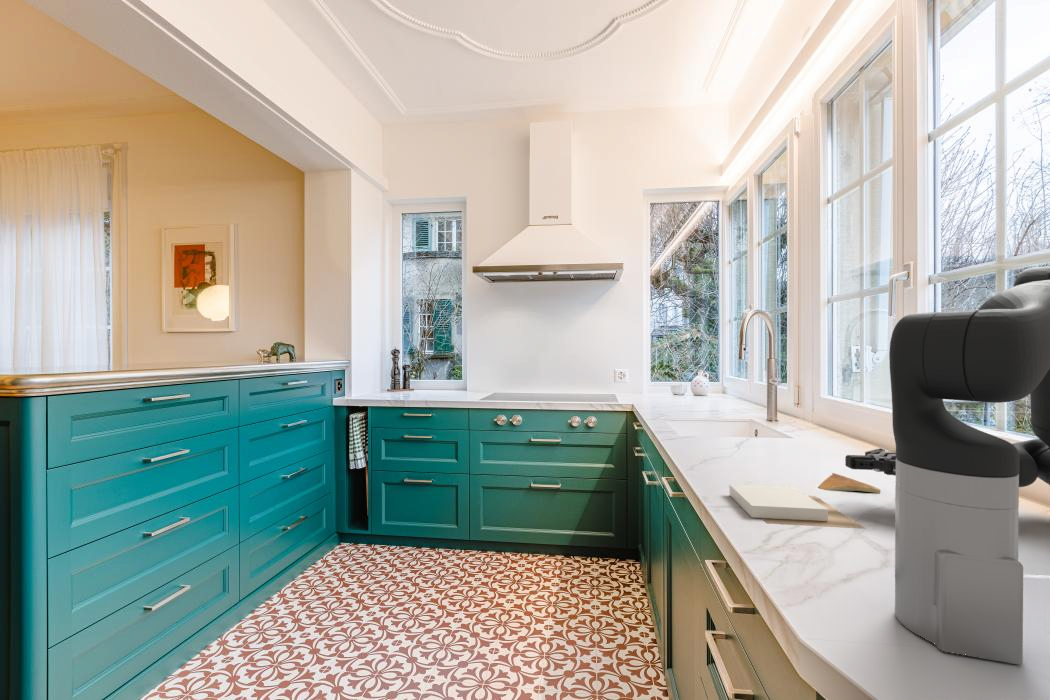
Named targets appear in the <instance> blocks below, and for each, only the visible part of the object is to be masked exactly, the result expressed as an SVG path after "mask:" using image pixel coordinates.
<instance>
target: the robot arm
mask: <svg viewBox="0 0 1050 700" xmlns="http://www.w3.org/2000/svg"><path fill="white" fill-rule="evenodd" d="M888 357H889V361H888V362H889V375H890V376H889V378H890V390H891V391H890V392H891V408H892V409H891V410H892V415H891V417H892V431H893V432H892V433H893V436H894V442H895V451H886V449H884V448H881V447H879V448H876V449H872V450H868V451H865V452H864V454H863V455H862V454H860V455H859V454H858V455H856V454H847V455H845V457H844V458H845V464H844V465H845V466H846V468H848V469H851V470H865V471H869V470H870V471H874V472H876V473H883V474H885V475H887V476H895V503H894V505H895V507H894V508H895V510H894V511H895V512H894V514H895V515H894V517H895V518H894V523H895V524H894V531H895V533H894V536H895V537H894V614H895V617H896V618H897V620H898V621H899V622H900V623H901V624H902V625H903V626H904V627H905V628H906V629H908V630H909V631H911V632H912V633H914V634H915V635H917V636H918V635H919V636H918V637H920V636H921V637H920V638H922V637H923V638H922V639H924V638H925V639H924V640H926V641H928V640H929V641H928V642H930V641H931V642H933V643H935V644H936V645H937V646H938V647H939V648H940V649H941V650H942V651H941V650H940V649H939V648H938V647H937V646H936V645H935V644H934V645H935V646H936V647H937V648H938V649H939V650H940V651H941V652H943V651H946V652H945V653H948V652H954V653H958V654H957V655H959V654H964V655H963V656H965V654H966V655H969V656H968V657H971V656H972V658H977V657H978V658H979V659H982V660H983V659H985V660H990V661H996V662H1002V663H1006V664H1014V665H1018V666H1019V665H1020V666H1023V662H1024V661H1023V659H1024V655H1023V653H1024V648H1023V647H1024V644H1023V643H1024V566H1023V563H1021V562H1020V561H1019V506H1020V505H1019V504H1020V499H1019V497H1020V493H1019V492H1020V488H1024V487H1028V486H1030V485H1032V484H1034V483H1035V482H1036V480H1037V479H1039V480H1041V481H1043V482H1044V483H1046V484H1047V485H1048V486H1050V265H1047V266H1045V265H1043V266H1036V267H1029V268H1026V269H1023V270H1022V271H1021V272H1020V273H1019V274H1018V275H1017V277H1016V279H1015V281H1014V284H1013V286H1012V287H1010V288H1007V289H1005V290H1002V291H1000V292H998V293H996V294H994V295H993V296H991V297H990V298H988V299H987V300H985V302H984V303H982V305H980V307H979V308H978V309H974V310H973V309H972V310H957V311H956V310H955V311H951V310H950V311H936V312H921V313H920V312H918V313H912V314H908V315H905V316H904V317H902V318H900V319H899V320H898V322H897V323H896V324H895V326H894V328H893V330H892V332H891V337H890V343H889V355H888ZM1028 396H1030V423H1031V424H1030V426H1031V431H1032V432H1033V434H1034V435H1035V436H1036V437H1037V438H1034V439H1029V440H1024V441H1019V442H1014V443H1011V442H1009V441H1007V440H1006V439H1003V438H1000V437H998V436H996V435H993V434H990V433H987V432H984V431H982V430H979V429H977V428H975V427H973V426H971V425H969V424H966V423H965V422H963V421H961V420H960V419H958V418H957V417H955V416H954V415H952V414H951V413H950V412H949V411H948V410H947V408H946V406H945V404H944V400H948V401H949V400H952V401H953V400H954V401H965V402H975V403H976V402H978V403H979V402H980V403H993V404H995V403H997V404H998V403H1008V402H1009V403H1010V402H1016V401H1019V400H1021V399H1022V400H1023V399H1024V398H1025V397H1028ZM931 642H930V643H931ZM933 643H932V644H933ZM954 653H953V654H954Z"/></svg>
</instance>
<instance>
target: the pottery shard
mask: <svg viewBox="0 0 1050 700" xmlns="http://www.w3.org/2000/svg"><path fill="white" fill-rule="evenodd" d="M817 488H818V489H820V490H824V491H834V492H835V491H841V492H842V491H843V492H844V491H845V492H851V491H852V492H853V491H854V492H855V491H856V492H864V493H866V492H868V493H873V494H881V489H880V488H878V487H875V486H873V485H870V484H868V483H865V482H861V481H858V480H856V479H853V478H851V477H847V476H844V475H841V474H837V473H834V472H832V473H831V475H829V476H828V477H827V478H826V479H824V481H822V482H821V483H820V484H819V485H818V486H817Z"/></svg>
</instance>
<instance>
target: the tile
mask: <svg viewBox="0 0 1050 700" xmlns="http://www.w3.org/2000/svg"><path fill="white" fill-rule="evenodd" d="M729 496H730V497H731V498H732V499H733V500H734V501H735V502H736V503H737V504H738V505H739V506H740V507H741V508H742V509H743V510H744V511H745V512H746V513H747V514H748V515H749V516H750V517H751V518H756V519H762V518H774V519H793V520H813V521H828V509H827V508H825V507H824V506H822V505H821V504H819V503H818V502H816V501H815V500H813V499H811V498H810V497H808V496H809V495H807V494H805V492H802V491H801V490H799V489H798V488H796V487H794V486H792V487H790V486H776V485H775V486H773V485H771V486H768V485H748V484H744V485H743V484H729Z"/></svg>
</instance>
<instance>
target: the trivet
mask: <svg viewBox="0 0 1050 700" xmlns="http://www.w3.org/2000/svg"><path fill="white" fill-rule="evenodd" d="M807 496H808V497H810V498H811V499H813V500H815V501H816V502H818V503H819V504H821V505H822V506H824V507H825V508H827V509H828V521H813V520H793V519H774V518H761V519H762V521H764V522H765V523H766V524H776V525H792V526H810V527H812V526H813V527H815V526H816V527H831V528H832V527H833V528H848V529H850V528H851V529H865V527H864V526H862V525H861V524H860V523H858V522H856V520H854V519H852V518H850V517H848V516H847V515H845V514H844V513H842V511H839V510H838V509H836V508H834V507H833V506H832V505H830V504H828V503H827V502H825V501H824V500H822V499H821V498H819V497H817V496H816V495H807Z"/></svg>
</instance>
